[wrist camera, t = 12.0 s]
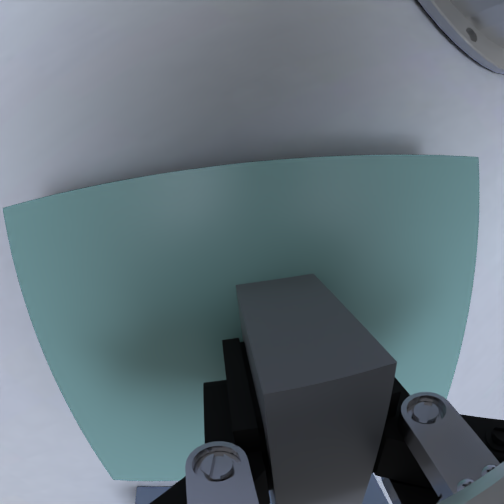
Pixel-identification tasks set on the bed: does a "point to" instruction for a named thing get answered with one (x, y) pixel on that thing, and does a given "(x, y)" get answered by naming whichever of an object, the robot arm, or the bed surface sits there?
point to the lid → (253, 305)
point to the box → (372, 500)
